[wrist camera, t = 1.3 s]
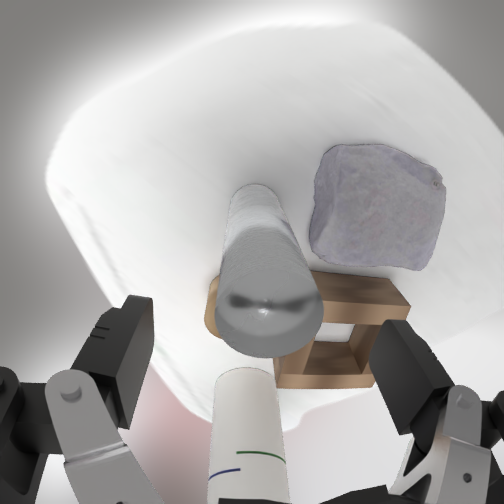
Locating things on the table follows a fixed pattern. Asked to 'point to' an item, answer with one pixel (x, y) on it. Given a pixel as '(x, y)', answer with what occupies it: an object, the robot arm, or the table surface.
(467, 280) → the table surface
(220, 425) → the cylindrical container
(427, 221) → the stone block
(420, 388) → the robot arm
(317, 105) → the table surface
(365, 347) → the collar
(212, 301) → the oak stub
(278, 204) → the steel pin
